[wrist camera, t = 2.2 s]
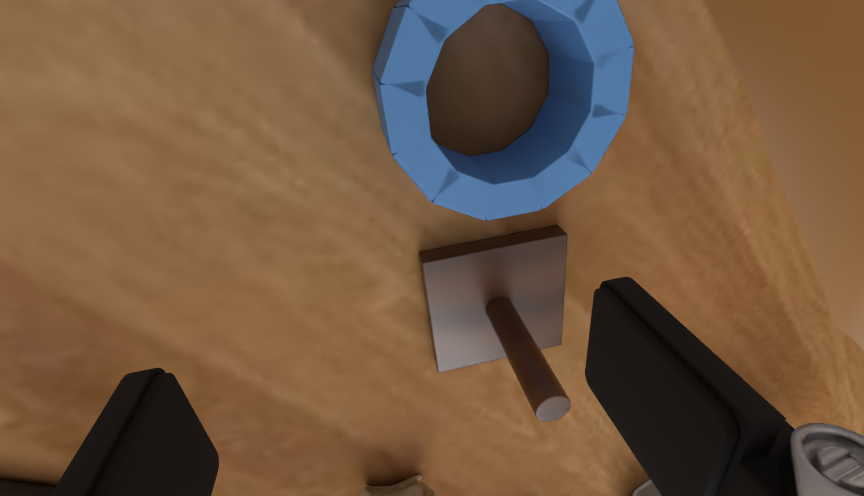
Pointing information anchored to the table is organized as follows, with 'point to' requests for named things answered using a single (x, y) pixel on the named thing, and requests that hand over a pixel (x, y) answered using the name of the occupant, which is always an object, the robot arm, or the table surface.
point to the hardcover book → (24, 489)
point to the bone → (400, 489)
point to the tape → (554, 125)
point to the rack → (501, 308)
